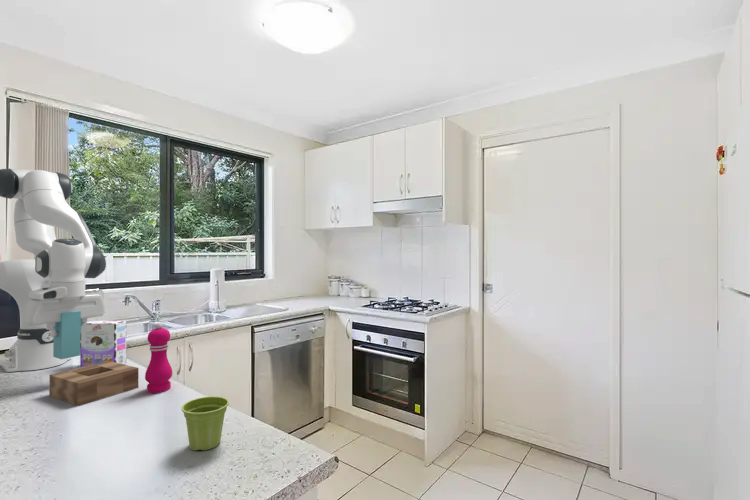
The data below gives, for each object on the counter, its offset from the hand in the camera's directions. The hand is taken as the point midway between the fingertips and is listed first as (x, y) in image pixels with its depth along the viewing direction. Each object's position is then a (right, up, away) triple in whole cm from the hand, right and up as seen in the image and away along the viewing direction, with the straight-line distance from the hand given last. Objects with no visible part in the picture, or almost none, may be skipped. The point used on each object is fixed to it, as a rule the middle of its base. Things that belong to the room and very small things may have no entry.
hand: (67, 334), depth 121 cm
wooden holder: (+13, -16, -6) cm, 21 cm away
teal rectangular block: (0, -7, 0) cm, 7 cm away
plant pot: (+60, -16, -38) cm, 72 cm away
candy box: (-2, -16, +19) cm, 25 cm away
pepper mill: (+31, -16, -4) cm, 35 cm away
